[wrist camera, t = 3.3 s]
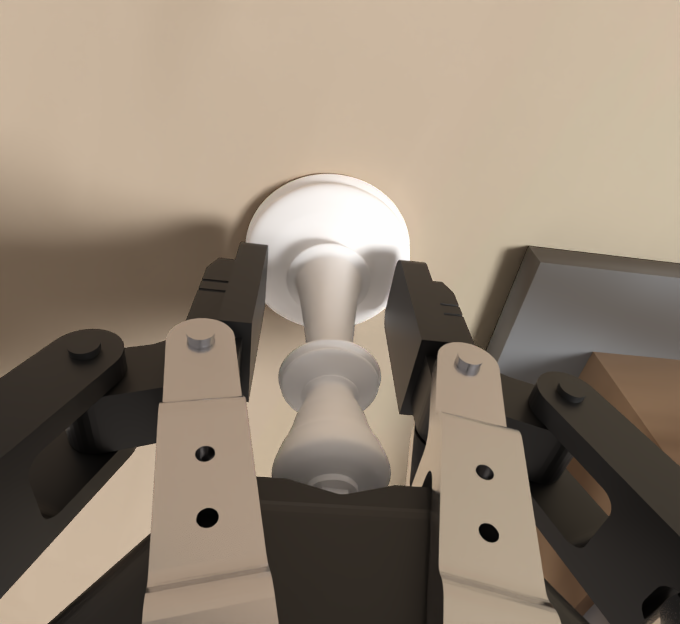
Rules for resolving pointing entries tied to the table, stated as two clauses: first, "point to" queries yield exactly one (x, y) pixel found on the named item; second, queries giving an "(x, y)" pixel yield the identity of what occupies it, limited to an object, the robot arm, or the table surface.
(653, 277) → the pedestal
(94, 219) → the table surface
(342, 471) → the chess piece
